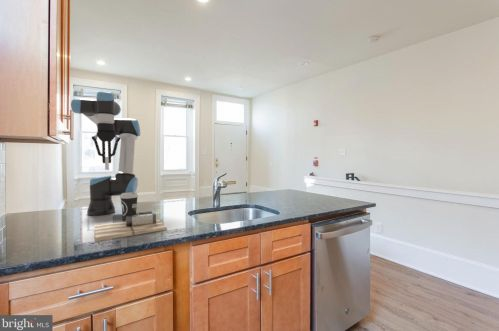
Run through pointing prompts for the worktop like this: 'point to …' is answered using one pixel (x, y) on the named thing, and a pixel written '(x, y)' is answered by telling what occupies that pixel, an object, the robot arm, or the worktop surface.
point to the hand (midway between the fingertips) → (107, 169)
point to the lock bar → (140, 219)
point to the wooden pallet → (126, 229)
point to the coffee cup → (128, 204)
